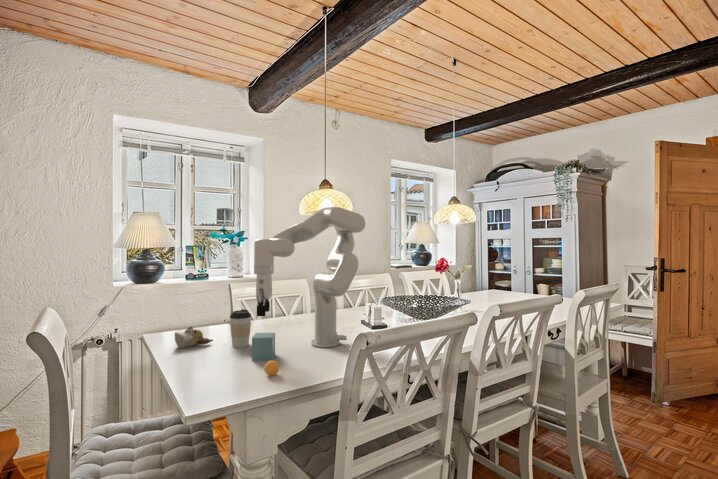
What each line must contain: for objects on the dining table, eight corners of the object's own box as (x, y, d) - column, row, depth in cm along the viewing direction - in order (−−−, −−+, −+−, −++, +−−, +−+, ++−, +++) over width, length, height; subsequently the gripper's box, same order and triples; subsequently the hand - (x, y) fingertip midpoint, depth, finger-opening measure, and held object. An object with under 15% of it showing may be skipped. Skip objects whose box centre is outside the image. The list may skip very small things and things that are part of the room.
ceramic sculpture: (169, 326, 170) (202, 322, 181) (168, 347, 170) (201, 342, 181) (181, 331, 163) (214, 326, 174) (179, 352, 163) (213, 346, 174)
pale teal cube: (275, 354, 161) (275, 332, 161) (272, 360, 153) (272, 337, 153) (255, 354, 160) (255, 332, 160) (251, 360, 153) (252, 337, 152)
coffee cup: (245, 348, 168) (245, 313, 168) (225, 347, 170) (225, 312, 170) (254, 342, 177) (254, 309, 177) (236, 341, 179) (236, 308, 179)
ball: (279, 372, 140) (280, 358, 140) (278, 377, 135) (278, 362, 135) (265, 372, 139) (265, 358, 139) (263, 377, 134) (263, 363, 134)
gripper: (270, 272, 148) (269, 318, 148) (276, 268, 165) (275, 309, 165) (249, 272, 147) (249, 318, 147) (258, 268, 165) (257, 309, 165)
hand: (263, 313), depth 156 cm, fingers open, 9 cm apart
